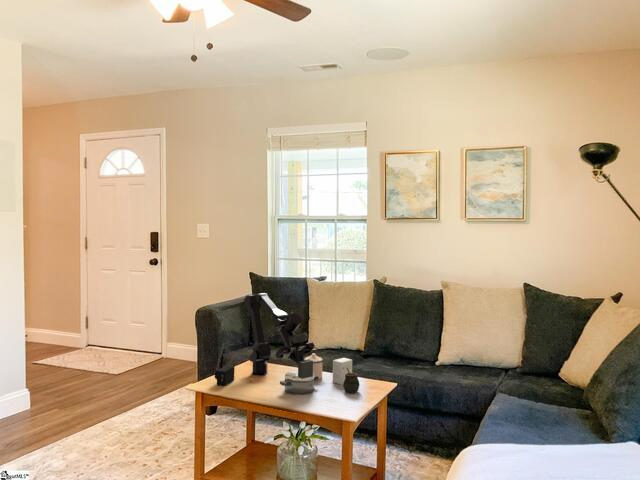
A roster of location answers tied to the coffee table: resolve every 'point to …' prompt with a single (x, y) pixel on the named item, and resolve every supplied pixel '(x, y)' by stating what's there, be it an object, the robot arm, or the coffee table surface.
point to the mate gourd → (351, 382)
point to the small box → (341, 369)
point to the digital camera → (224, 375)
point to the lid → (302, 372)
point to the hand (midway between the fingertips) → (303, 366)
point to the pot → (299, 386)
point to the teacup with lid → (316, 365)
